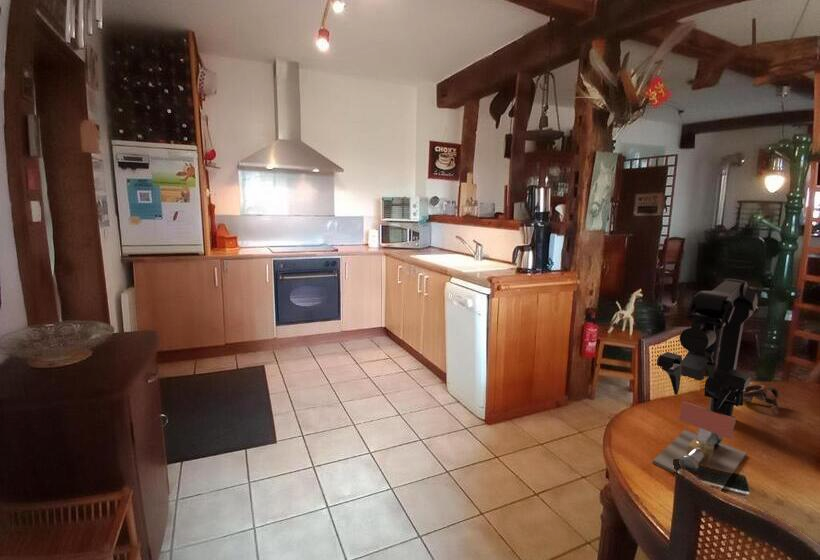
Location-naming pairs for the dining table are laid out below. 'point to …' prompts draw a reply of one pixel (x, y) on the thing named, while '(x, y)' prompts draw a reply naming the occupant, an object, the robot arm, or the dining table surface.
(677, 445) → the mounting board
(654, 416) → the dining table surface
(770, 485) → the dining table surface
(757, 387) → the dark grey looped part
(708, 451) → the pipe and valve
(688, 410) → the valve lever
